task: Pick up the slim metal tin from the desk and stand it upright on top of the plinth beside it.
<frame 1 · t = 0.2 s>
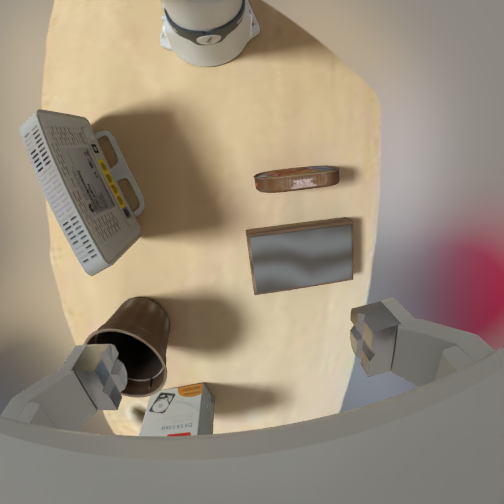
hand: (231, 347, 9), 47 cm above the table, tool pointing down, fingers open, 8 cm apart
plinth: (299, 252, 59), on the table
plant pot: (143, 320, 62), on the table
hard drive box: (182, 395, 70), on the table
network device: (110, 177, 52), on the table
tin: (292, 176, 54), on the table
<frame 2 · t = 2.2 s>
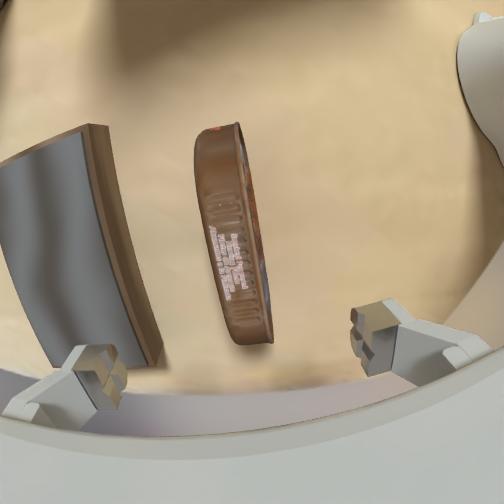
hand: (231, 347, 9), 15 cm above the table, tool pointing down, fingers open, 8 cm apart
plinth: (75, 254, 23), on the table
tin: (238, 224, 24), on the table
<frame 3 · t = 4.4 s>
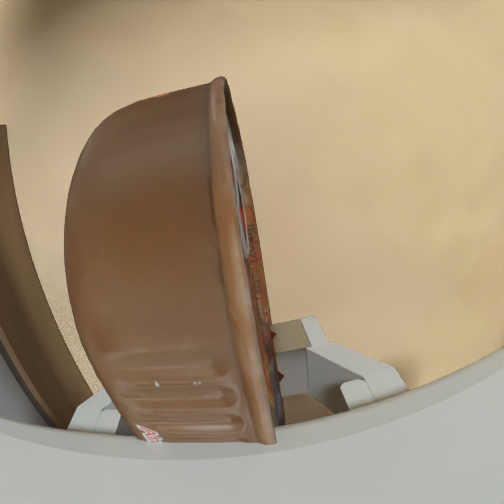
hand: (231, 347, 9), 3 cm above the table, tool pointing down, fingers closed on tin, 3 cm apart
tin: (230, 300, 13), on the table, touching gripper
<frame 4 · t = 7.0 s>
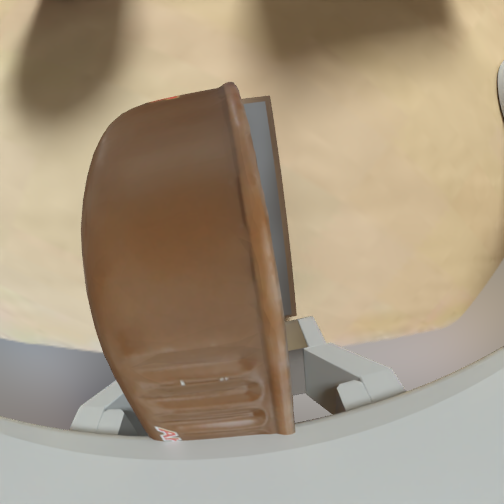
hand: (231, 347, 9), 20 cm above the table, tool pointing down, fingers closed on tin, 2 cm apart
plinth: (217, 215, 28), on the table
tin: (222, 302, 13), point 17 cm above the table, touching gripper
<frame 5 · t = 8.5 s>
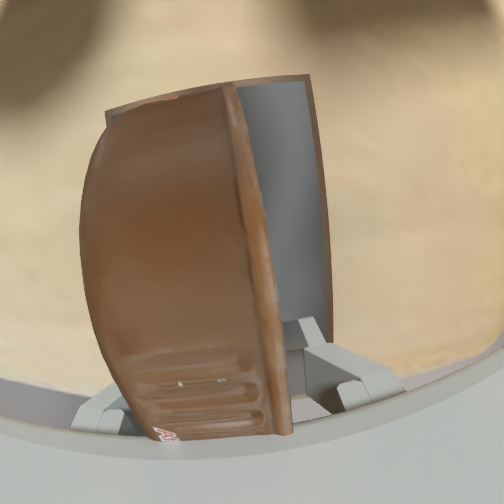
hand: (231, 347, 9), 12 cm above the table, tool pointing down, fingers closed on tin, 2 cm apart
plinth: (231, 238, 21), on the table
tin: (221, 302, 13), point 9 cm above the table, touching gripper
when the fingers open (8 cm above the table, at t = 9.8 s): tin drops 1 cm, resting on plinth.
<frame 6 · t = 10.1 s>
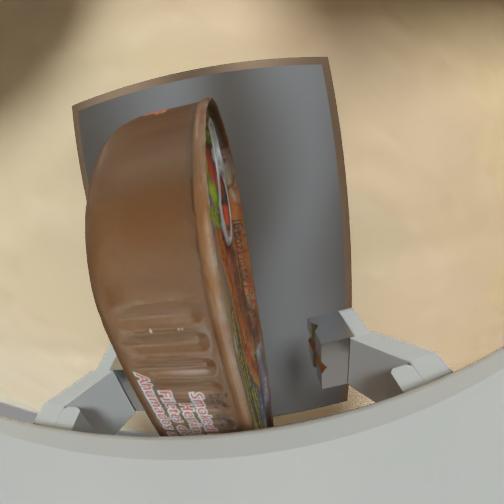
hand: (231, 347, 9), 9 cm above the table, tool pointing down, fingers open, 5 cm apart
plinth: (229, 258, 18), on the table
tin: (220, 288, 14), point 4 cm above the table, touching plinth
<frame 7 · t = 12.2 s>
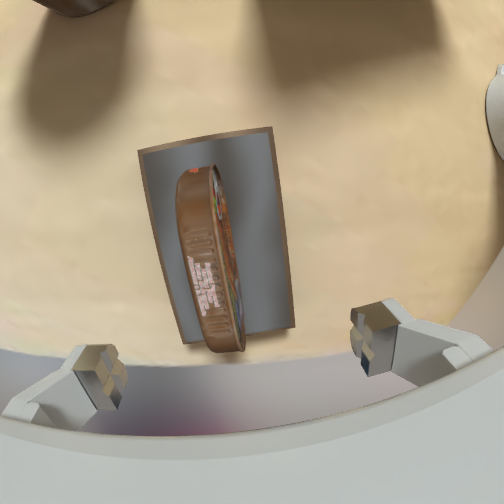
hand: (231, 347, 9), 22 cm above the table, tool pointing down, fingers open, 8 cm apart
plinth: (222, 236, 31), on the table
tin: (216, 247, 27), point 4 cm above the table, touching plinth
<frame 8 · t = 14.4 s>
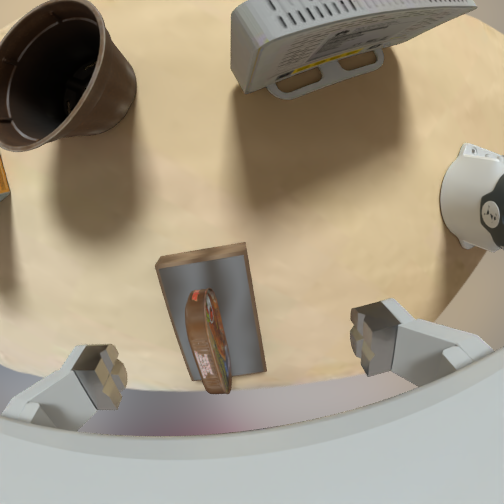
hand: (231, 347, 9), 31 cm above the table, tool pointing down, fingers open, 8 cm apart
plinth: (216, 312, 44), on the table
plant pot: (97, 92, 33), on the table
network device: (322, 56, 33), on the table
tin: (212, 326, 40), point 4 cm above the table, touching plinth
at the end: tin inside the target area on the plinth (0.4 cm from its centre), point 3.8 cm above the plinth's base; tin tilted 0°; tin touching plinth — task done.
